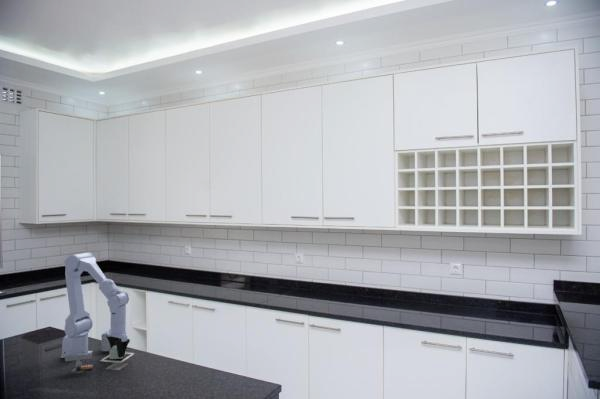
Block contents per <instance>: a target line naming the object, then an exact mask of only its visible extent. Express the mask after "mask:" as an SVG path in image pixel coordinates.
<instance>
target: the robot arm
mask: <svg viewBox="0 0 600 399" xmlns="http://www.w3.org/2000/svg"><path fill="white" fill-rule="evenodd" d="M64 267H65V270H64V271H65V272H64V275H65V281H66V282H65V285H66V290H67V298H68V299H67V301H68V308H69V315H68V316H67V317H66V318H65V320H64V322H65V323H64V334H65V336H64V337H63V339H62V342H61V343H62V344H61V349H62V350H61V355H60V358H61V359H65V356H66V355H72V354H81V353H90V352H92V353H93V350H89V333H90V330H91V329H92V328H93V325H94V324H93V320H92V318H91V315H90V314H91V313H89V312H88V311H86V310H85V304H84V302H85V301H84V295H83V289H82V281H81V275H82V274H83V272H87V273H88V274H89V275H90V276H91V277H92V278H93V279H94V280H95V281H96V282H97V283H98V284H99V285H98V290H99V291H100V292H101V293H102V295H104V296H105V298H106V299H107V302H106V303H107V306H108V308H109V312H110V328H109V330H108V331H109V333H110V334H107V336H106V337H107V339H108V341H109V343H110V347H111V348H112V347H113V346H114V345H116V347H117V352H118V357H119V358H120V357H123V358H124V357H125V356H126V354H125V351H126V352H127V347H128V345H129V344H130V342H131V341H130V340H131V339H129V338H128V336H127V331H126V326H127V325H126V319H127V318H126V312H127V310H126V309H127V306H126V305H127V304H128V303H129V301H130V297H129V294H128V293H127V291H123V290H121V289H120V288H119V287H118V286H117V284H116V283H115V281H114V280H112V279H111V278H107V277H106V275H105V274H104V272H103V271H102V270H101V268H100V266H99V265H98V263H97V258H96V257H95V256H94V254H93V253H92V252H90V251H89V252H88V251H87V252H84V253H83V252H82V253H75V254H69V255H68V256H67V257H66V258H65V260H64ZM124 355H125V356H124Z"/></svg>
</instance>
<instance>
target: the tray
mask: <svg viewBox="0 0 600 399" xmlns="http://www.w3.org/2000/svg"><path fill="white" fill-rule="evenodd" d="M109 355H110V354H109ZM109 355H107V356H105V357H104V358H102V359H100V360H99V362H104V363H124V362H125V361H126V360H128V359H129V358H131V357H132V356H134V355H136V354H135V352H126V354H125V355H128V356H126V357H125V358H122V360H112V359H108V358H109Z"/></svg>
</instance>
